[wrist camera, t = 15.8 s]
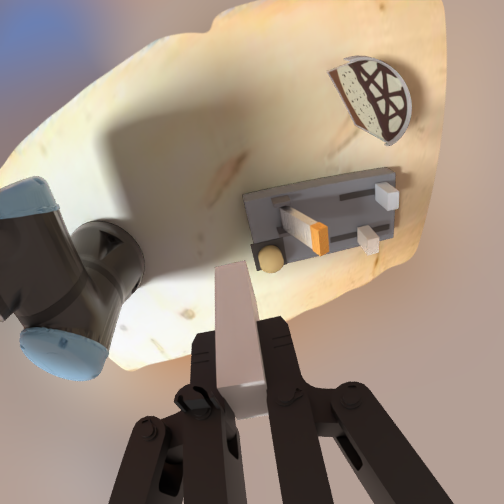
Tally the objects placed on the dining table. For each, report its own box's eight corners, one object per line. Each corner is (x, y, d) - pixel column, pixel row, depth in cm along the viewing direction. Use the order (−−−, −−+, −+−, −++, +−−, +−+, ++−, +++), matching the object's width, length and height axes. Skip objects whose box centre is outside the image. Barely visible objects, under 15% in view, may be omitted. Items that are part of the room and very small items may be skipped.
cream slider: (357, 242, 46) (367, 255, 42) (357, 227, 44) (367, 240, 41) (368, 239, 46) (378, 252, 42) (368, 224, 44) (379, 237, 41)
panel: (254, 259, 49) (258, 278, 45) (239, 195, 43) (241, 209, 38) (385, 229, 49) (399, 244, 44) (386, 167, 42) (402, 177, 38)
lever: (279, 228, 42) (320, 257, 34) (275, 204, 40) (318, 230, 32) (287, 224, 43) (329, 252, 35) (283, 201, 41) (327, 225, 33)
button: (260, 266, 46) (262, 275, 44) (256, 248, 44) (257, 256, 42) (282, 261, 46) (285, 270, 44) (279, 242, 44) (281, 250, 42)
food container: (388, 117, 38) (426, 130, 29) (358, 133, 39) (392, 149, 31) (354, 47, 32) (390, 41, 23) (321, 62, 33) (350, 57, 24)
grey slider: (375, 200, 42) (387, 210, 38) (375, 183, 40) (387, 193, 37) (385, 198, 42) (398, 208, 38) (386, 181, 40) (399, 191, 37)
